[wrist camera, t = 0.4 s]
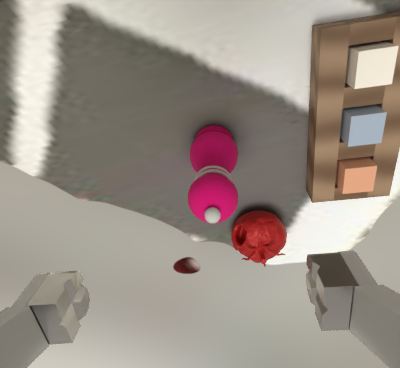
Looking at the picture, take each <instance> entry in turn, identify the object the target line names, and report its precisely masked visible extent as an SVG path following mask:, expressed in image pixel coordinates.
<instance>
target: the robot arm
mask: <svg viewBox="0 0 400 368" xmlns="http://www.w3.org/2000/svg"><path fill="white" fill-rule="evenodd" d="M307 266H308V269H309V272H308V273H307V274H306V284H307V291H308V295H309V298H310V301H311V303H313V304H314V305H315V315H316V317H317V320H318V323H319V325H320V328H321V330H323V331H325V330H349V331H350V332H351V333H352V334H353V335H354V336H355V337H356V338H357V339H358V340H359V341H360V342H362V343H363V344H364V345H365V346H366V347H367V348H368V349H370V351H372V352H373V353H374V354H375V355H376V356H377V357H378V358H379V359H380V360H381V361H383V362H384V363H385V364H386V365H387V366H388V367H389V368H400V294H398V293H397V292H395V291H393V290H391V289H390V288H388V287H386V286H384V285H378V284H377V283H376V281H375V280H374V278H373V277H372V275H371V274H370V272H369V271H368V269H367V268H366V266H365V265H364V263H363V262H362V260H361V259H360V257H359V256H358V254H357V253H356V252H355V251H343V252H338V253H337V252H336V253H323V254H310V255H307ZM82 282H83V277H82V275H81V273H80V272H78V271H68V272H52V273H39V274H37V275H35V276H34V278H33V279H32V280H31V282H30V283H29V284H28V286H27V287H26V288H25V289H24V291H23V292H22V293H21V295H20V296H19V298H18V299H17V300H16V301H15V303H14V304H13V305H12V306H11V307H9V308H5V309H4V310H2V311H1V312H0V368H27V367H28V366H29V365H30V364H31V363H32V362H33V361H34V360H35V359H36V358H37V357H38V356H39V355H40V354H41V353H42V352H43V351H44V350H45V349H46V348H47V347H48V346H49V344H61V343H72V342H73V341H74V339H75V336H76V334H77V332H78V330H79V328H80V323H79V320H80V319H82V318H83V317H84V316H85V315H86V313H87V311H88V308H89V301H90V299H89V293H88V290H87V288H86V287H84V286H83V285H82Z"/></svg>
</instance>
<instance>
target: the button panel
mask: <svg viewBox="0 0 400 368" xmlns="http://www.w3.org/2000/svg"><path fill="white" fill-rule="evenodd" d="M379 42H388V43H391V44H394V45H398V46H399V47H398V52H397V58H396V64H395V69H394V75H393V81H392V84H389V85H382V86H374V87H367V88H359V89H354V88H352V87H351V86H349V85H348V84H347V83H345V78H346V68H347V57H348V47H352V46H359V45H365V44H372V43H379ZM374 104H376V105H377V106H379V107H380V108H382V109H383V110H385V111H386V112H387V115H386V120H385V126H384V131H383V137H382V143H377V144H368V145H359V146H351V147H348V146H347V145H346V144H345V143H344V142H343V140H342V139H341V138H340V129H341V119H342V109H343V108H350V107H358V106H366V105H374ZM399 147H400V12H394V13H388V14H382V15H376V16H369V17H363V18H357V19H351V20H344V21H338V22H332V23H326V24H320V25H313V26H312V50H311V76H310V102H309V129H308V155H307V181H306V190H307V192H308V194H309V197H310V199H311V201H312V203H313V202H324V201H335V200H346V199H357V198H367V197H378V196H389V194H390V190H391V185H392V180H393V176H394V171H395V166H396V161H397V157H398V152H399ZM368 156H369V157H370V158H371V159H372V161H373V162H374V163H375V164H376V165H377V171H376V177H375V182H374V188H373V191H370V192H359V193H349V194H342V192H341V191H340V189H339V188H338V186H337V184H336V183H335V181H336V171H337V160H341V159H350V158H359V157H368Z"/></svg>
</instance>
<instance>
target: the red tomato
mask: <svg viewBox="0 0 400 368" xmlns="http://www.w3.org/2000/svg"><path fill="white" fill-rule="evenodd" d="M286 237H287V232H286V228H285V226H284V225H283V223H282V222H281V221H280V220H279V219H278V217H277V216H276V215H275V214H273V213H271V212H268V211H262V210H257V211H251V212H248V213H246V214H244V215H242V216H241V217H239V218H238V219H237V220H236V222H235V224H234V227H233V231H232V243H233V245H234V248H235V249H236V250H239V252H240V253H241V254H243V255H245V256H247V257H248V258H243V259H245V260H249V259H251V260H252V261H254V262H257V263H260V262H261V263H263V264H264V266H265V263H266V260H268V259H271V258H273V257H274V256H276V255H285V254H278V253H279V252H280V250H281V249H282V248H283V247H284V246H285V243H286Z"/></svg>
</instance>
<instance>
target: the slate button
mask: <svg viewBox="0 0 400 368" xmlns="http://www.w3.org/2000/svg"><path fill="white" fill-rule="evenodd" d="M386 115H387V112H386V111H385V110H383V109H382V108H380V107H379V106H377V105H376V104H374V105H366V106H358V107H350V108H343V109H342V119H341V129H340V138H341V139H342V140H343V142H344V143H345V144H346V145H347V146H348V147H351V146H359V145H368V144H377V143H382V137H383V131H384V126H385V120H386Z"/></svg>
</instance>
